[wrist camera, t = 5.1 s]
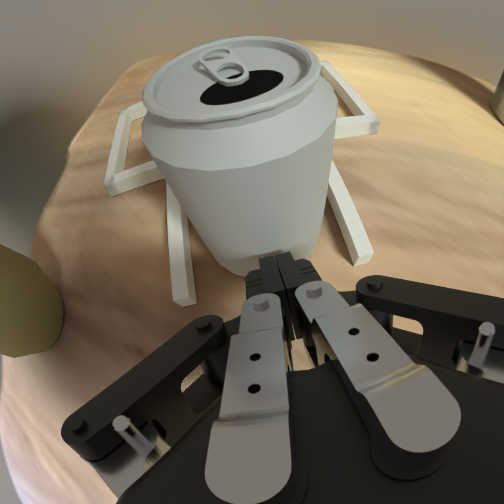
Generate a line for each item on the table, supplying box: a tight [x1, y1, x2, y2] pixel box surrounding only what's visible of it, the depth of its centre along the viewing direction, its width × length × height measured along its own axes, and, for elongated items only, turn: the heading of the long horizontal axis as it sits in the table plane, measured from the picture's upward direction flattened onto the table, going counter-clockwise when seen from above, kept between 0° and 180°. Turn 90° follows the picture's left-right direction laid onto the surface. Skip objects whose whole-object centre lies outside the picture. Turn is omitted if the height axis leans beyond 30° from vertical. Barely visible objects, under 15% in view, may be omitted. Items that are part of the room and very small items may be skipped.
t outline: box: [104, 61, 380, 307], centre depth 21 cm, size 23×24×2 cm
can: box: [142, 36, 338, 277], centre depth 13 cm, size 8×8×12 cm
